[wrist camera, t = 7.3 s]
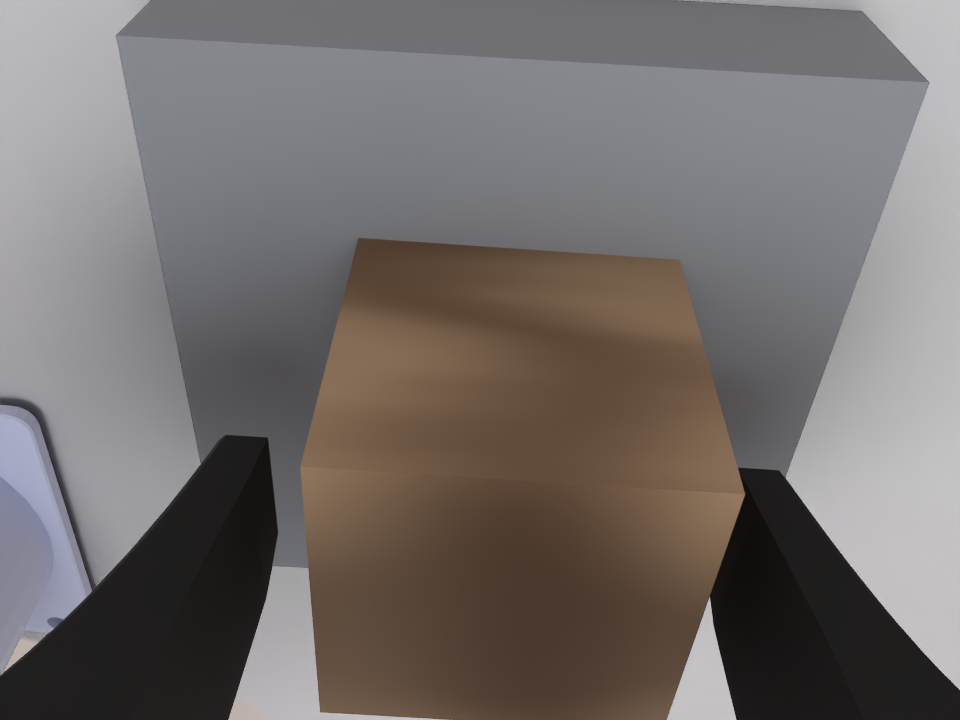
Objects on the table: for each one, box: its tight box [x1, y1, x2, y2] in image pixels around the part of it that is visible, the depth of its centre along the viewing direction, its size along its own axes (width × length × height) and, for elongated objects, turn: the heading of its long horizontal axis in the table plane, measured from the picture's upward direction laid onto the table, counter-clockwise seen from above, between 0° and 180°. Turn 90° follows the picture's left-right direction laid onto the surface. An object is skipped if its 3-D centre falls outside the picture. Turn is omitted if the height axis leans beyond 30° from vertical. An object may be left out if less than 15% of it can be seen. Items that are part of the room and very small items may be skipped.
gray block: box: [116, 0, 929, 568], centre depth 17 cm, size 11×11×4 cm
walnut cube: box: [300, 238, 745, 720], centre depth 14 cm, size 5×5×5 cm
